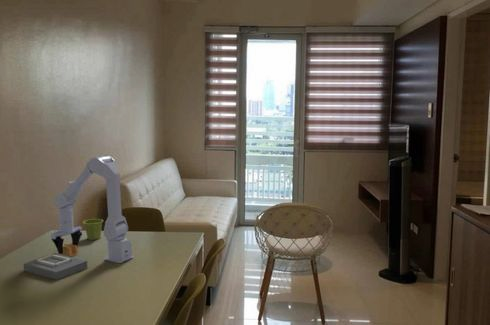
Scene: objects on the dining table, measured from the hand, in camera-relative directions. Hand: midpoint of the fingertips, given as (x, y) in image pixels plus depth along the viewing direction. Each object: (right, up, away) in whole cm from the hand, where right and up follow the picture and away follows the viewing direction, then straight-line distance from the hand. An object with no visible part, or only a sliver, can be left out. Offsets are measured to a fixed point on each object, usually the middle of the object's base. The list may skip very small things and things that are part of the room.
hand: (68, 250), depth 192 cm
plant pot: (+3, +1, +24) cm, 24 cm away
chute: (0, -2, 0) cm, 2 cm away
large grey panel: (+3, -4, -19) cm, 19 cm away
